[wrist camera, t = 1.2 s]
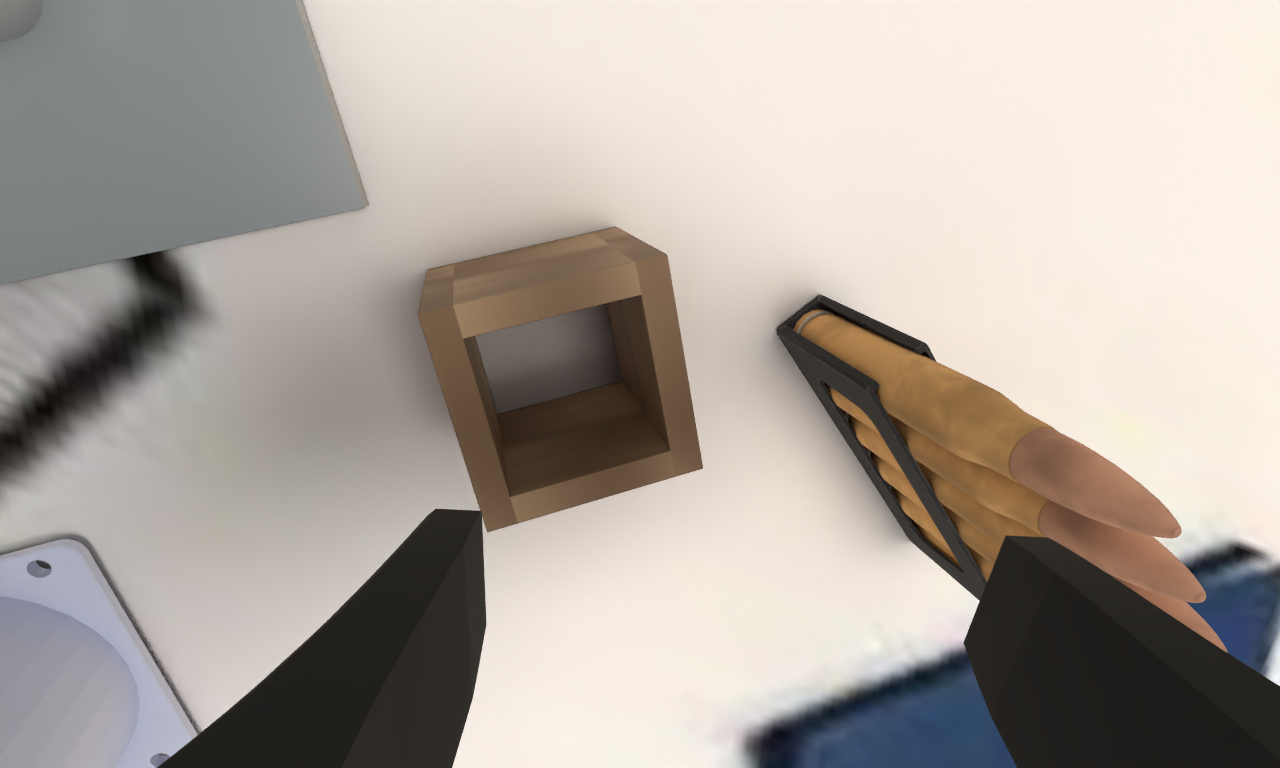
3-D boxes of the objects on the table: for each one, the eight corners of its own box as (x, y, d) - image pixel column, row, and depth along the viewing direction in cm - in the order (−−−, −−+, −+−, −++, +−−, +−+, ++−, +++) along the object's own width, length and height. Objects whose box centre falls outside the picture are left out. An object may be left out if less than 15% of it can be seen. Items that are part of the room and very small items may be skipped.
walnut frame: (479, 442, 20) (487, 532, 15) (427, 269, 18) (417, 313, 13) (648, 396, 21) (702, 468, 16) (615, 226, 19) (667, 254, 14)
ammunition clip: (773, 328, 21) (1114, 532, 10) (820, 291, 21) (1212, 456, 10) (911, 542, 26) (1252, 844, 15) (950, 512, 26) (1321, 791, 15)
